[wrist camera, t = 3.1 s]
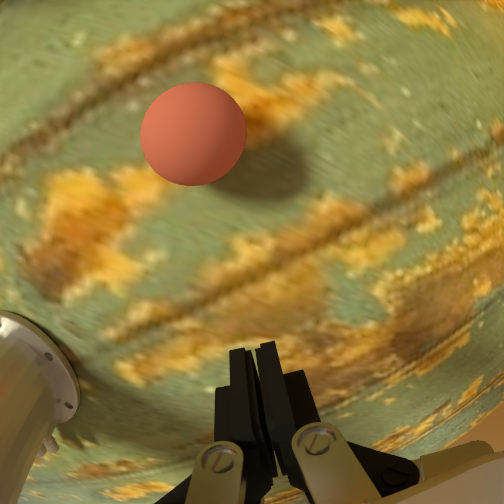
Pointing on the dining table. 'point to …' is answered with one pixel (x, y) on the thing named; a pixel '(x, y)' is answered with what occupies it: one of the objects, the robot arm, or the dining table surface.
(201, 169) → the ball
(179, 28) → the dining table surface
